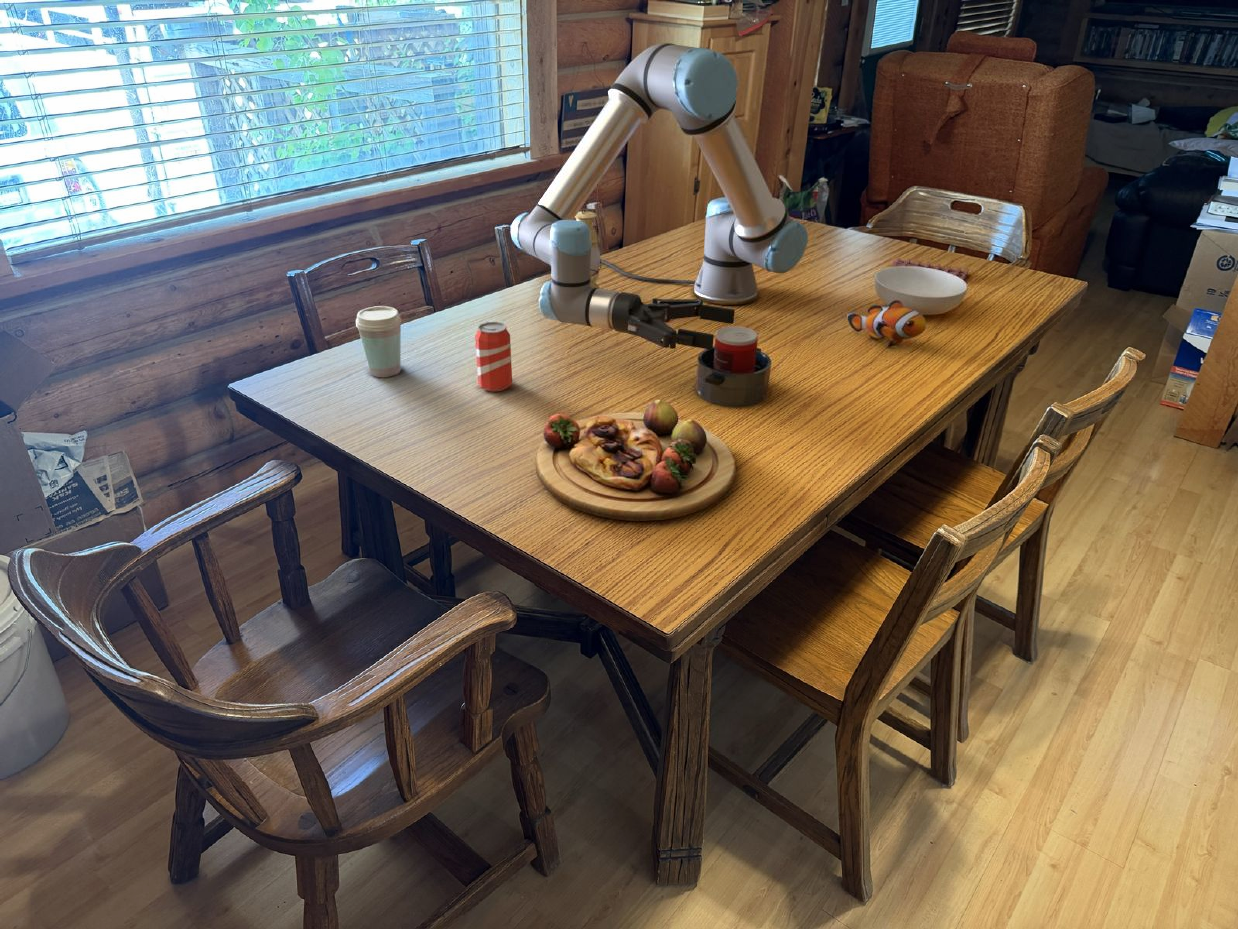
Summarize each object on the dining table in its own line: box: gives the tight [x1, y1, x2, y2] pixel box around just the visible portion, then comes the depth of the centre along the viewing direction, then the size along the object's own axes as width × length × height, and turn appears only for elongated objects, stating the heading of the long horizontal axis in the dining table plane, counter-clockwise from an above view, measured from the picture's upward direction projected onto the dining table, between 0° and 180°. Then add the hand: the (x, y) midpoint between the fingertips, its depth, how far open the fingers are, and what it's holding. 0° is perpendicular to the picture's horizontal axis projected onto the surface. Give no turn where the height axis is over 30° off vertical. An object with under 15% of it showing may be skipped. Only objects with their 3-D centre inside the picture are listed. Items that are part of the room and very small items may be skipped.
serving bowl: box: [873, 266, 969, 316], centre depth 205 cm, size 21×21×7 cm
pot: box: [695, 345, 773, 408], centre depth 165 cm, size 14×14×6 cm
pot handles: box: [705, 347, 762, 386], centre depth 164 cm, size 3×18×1 cm, turn 147°
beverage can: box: [474, 321, 513, 393], centre depth 163 cm, size 6×6×12 cm
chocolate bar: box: [890, 257, 970, 281], centre depth 229 cm, size 7×19×2 cm, turn 61°
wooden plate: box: [535, 399, 737, 522], centre depth 139 cm, size 32×32×8 cm
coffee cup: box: [355, 305, 403, 378], centre depth 168 cm, size 8×8×12 cm
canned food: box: [713, 325, 759, 374], centre depth 163 cm, size 8×8×11 cm
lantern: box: [573, 183, 602, 289], centre depth 198 cm, size 12×10×30 cm
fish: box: [846, 300, 927, 349], centre depth 186 cm, size 10×18×10 cm, turn 44°
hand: (723, 329), depth 161 cm, fingers open, 13 cm apart
